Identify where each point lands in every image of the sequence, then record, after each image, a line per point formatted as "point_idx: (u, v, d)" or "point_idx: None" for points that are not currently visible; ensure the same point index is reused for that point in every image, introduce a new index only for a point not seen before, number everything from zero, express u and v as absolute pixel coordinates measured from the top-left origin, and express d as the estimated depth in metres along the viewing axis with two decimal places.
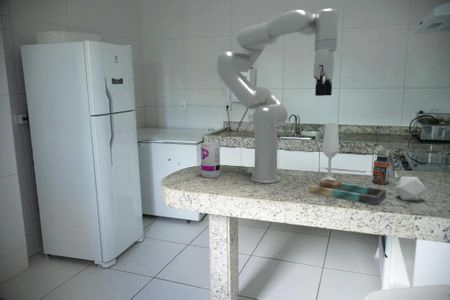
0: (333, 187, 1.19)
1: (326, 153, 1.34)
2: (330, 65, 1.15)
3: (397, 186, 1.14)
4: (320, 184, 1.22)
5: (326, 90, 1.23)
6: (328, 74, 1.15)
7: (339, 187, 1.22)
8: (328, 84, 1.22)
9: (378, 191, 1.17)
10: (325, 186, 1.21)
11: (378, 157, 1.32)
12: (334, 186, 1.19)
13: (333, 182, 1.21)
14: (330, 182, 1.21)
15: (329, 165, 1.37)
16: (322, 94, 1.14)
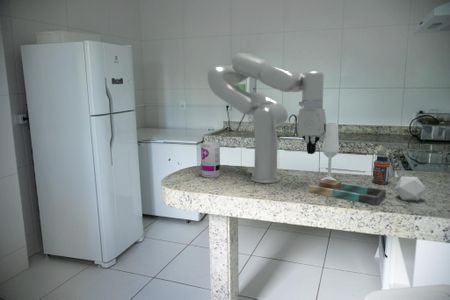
0: (332, 187, 1.19)
1: (326, 153, 1.34)
2: None
3: (397, 186, 1.14)
4: (320, 184, 1.22)
5: None
6: None
7: (339, 187, 1.22)
8: None
9: (378, 191, 1.17)
10: (325, 186, 1.21)
11: (378, 157, 1.32)
12: (333, 186, 1.19)
13: (333, 182, 1.21)
14: (330, 182, 1.22)
15: (329, 165, 1.37)
16: (314, 152, 1.26)
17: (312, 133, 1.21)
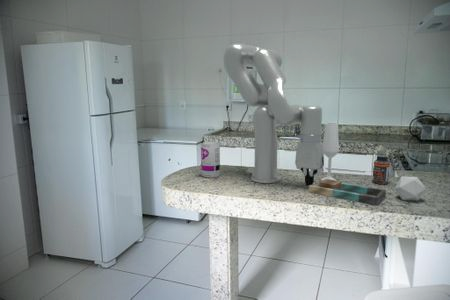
0: (332, 187, 1.19)
1: (326, 153, 1.34)
2: None
3: (397, 186, 1.14)
4: (320, 184, 1.22)
5: None
6: None
7: (339, 187, 1.22)
8: None
9: (378, 191, 1.17)
10: (324, 186, 1.21)
11: (378, 157, 1.32)
12: (333, 186, 1.19)
13: (333, 182, 1.21)
14: (330, 182, 1.22)
15: (329, 165, 1.37)
16: (311, 183, 1.28)
17: (310, 166, 1.23)
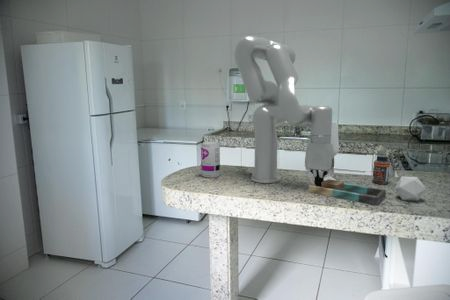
0: (335, 187, 1.18)
1: None
2: None
3: (397, 186, 1.14)
4: (322, 184, 1.22)
5: None
6: None
7: (341, 187, 1.21)
8: None
9: (378, 191, 1.17)
10: (327, 186, 1.21)
11: (378, 157, 1.32)
12: (336, 186, 1.18)
13: (335, 182, 1.21)
14: (332, 182, 1.21)
15: None
16: None
17: (320, 168, 1.21)
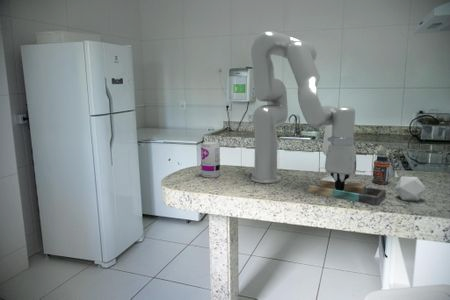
0: (360, 191, 1.15)
1: (326, 153, 1.34)
2: None
3: (397, 186, 1.14)
4: (345, 188, 1.17)
5: None
6: None
7: (364, 190, 1.18)
8: (339, 180, 1.21)
9: (378, 191, 1.17)
10: (351, 190, 1.16)
11: (378, 157, 1.32)
12: (361, 189, 1.14)
13: (358, 185, 1.17)
14: (355, 185, 1.17)
15: None
16: None
17: (342, 171, 1.16)
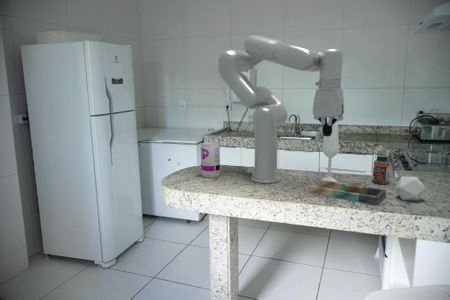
0: (360, 190, 1.15)
1: (326, 153, 1.34)
2: None
3: (397, 186, 1.14)
4: (345, 188, 1.17)
5: None
6: None
7: (364, 190, 1.18)
8: None
9: (378, 191, 1.17)
10: (351, 190, 1.16)
11: (378, 157, 1.32)
12: (361, 189, 1.14)
13: (358, 185, 1.17)
14: (355, 185, 1.17)
15: (329, 165, 1.37)
16: (330, 134, 1.21)
17: (329, 114, 1.16)
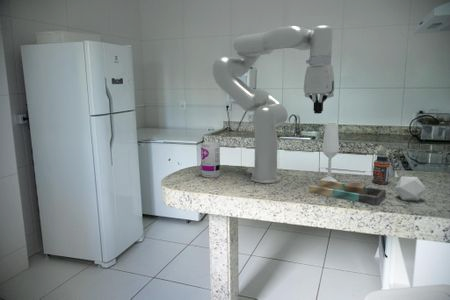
0: (360, 190, 1.15)
1: (326, 153, 1.34)
2: None
3: (397, 186, 1.14)
4: (345, 188, 1.17)
5: None
6: None
7: (364, 190, 1.18)
8: None
9: (378, 191, 1.17)
10: (351, 190, 1.16)
11: (378, 157, 1.32)
12: (361, 189, 1.14)
13: (358, 185, 1.17)
14: (355, 185, 1.17)
15: (329, 165, 1.37)
16: (321, 112, 1.22)
17: (319, 91, 1.17)
